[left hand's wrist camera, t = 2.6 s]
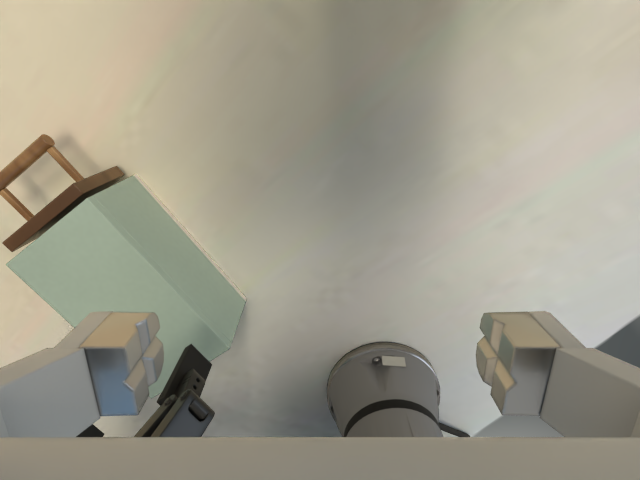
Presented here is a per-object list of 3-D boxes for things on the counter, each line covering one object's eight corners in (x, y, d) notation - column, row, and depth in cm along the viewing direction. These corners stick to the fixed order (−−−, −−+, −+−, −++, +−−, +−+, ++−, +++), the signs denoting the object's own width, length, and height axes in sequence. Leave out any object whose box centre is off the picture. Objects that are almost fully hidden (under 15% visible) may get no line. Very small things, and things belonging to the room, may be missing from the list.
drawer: (17, 177, 46) (-48, 197, 38) (78, 123, 44) (24, 132, 36) (166, 327, 53) (138, 371, 45) (225, 286, 50) (208, 325, 42)
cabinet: (68, 228, 49) (4, 264, 39) (136, 173, 46) (86, 198, 37) (181, 342, 55) (151, 399, 45) (247, 298, 52) (230, 348, 42)
